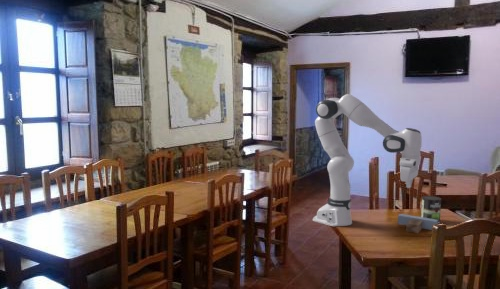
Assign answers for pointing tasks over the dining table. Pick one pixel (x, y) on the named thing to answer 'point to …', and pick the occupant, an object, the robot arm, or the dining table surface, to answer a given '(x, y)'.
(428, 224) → the board
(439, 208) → the coffee can
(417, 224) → the walnut block
